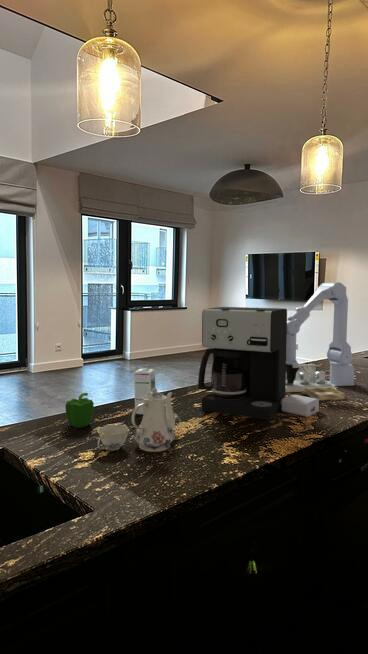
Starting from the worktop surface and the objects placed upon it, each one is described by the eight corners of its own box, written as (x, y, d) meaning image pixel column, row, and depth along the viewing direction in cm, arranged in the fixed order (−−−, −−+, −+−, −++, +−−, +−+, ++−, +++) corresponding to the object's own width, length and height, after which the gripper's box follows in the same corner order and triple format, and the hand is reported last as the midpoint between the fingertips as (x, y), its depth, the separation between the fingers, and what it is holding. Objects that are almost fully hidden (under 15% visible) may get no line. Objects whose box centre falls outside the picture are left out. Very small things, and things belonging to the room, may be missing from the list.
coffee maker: (190, 409, 156) (190, 308, 153) (213, 396, 173) (213, 305, 170) (268, 420, 143) (271, 310, 140) (285, 405, 160) (287, 307, 157)
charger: (279, 403, 163) (318, 411, 153) (265, 409, 156) (306, 417, 146) (279, 391, 162) (319, 398, 153) (266, 395, 155) (306, 403, 146)
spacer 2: (306, 382, 189) (306, 371, 189) (311, 384, 185) (311, 373, 184) (296, 382, 188) (296, 371, 188) (301, 384, 184) (301, 374, 184)
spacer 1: (290, 382, 188) (291, 371, 187) (295, 384, 184) (295, 373, 183) (280, 382, 187) (281, 372, 187) (285, 385, 183) (285, 374, 182)
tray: (330, 392, 180) (330, 387, 180) (345, 399, 169) (345, 393, 169) (304, 393, 178) (304, 388, 178) (317, 400, 167) (317, 395, 167)
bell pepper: (66, 431, 133) (65, 397, 132) (65, 422, 141) (64, 391, 140) (95, 428, 135) (94, 396, 134) (93, 420, 143) (92, 389, 142)
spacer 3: (322, 381, 190) (322, 371, 190) (327, 383, 186) (327, 373, 186) (312, 381, 190) (312, 371, 189) (317, 384, 185) (317, 373, 185)
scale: (319, 383, 196) (320, 363, 196) (334, 390, 184) (335, 369, 183) (271, 385, 192) (272, 365, 192) (283, 392, 180) (284, 371, 179)
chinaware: (160, 430, 139) (156, 376, 138) (204, 436, 128) (199, 378, 128) (88, 457, 117) (82, 394, 117) (133, 467, 107) (127, 398, 106)
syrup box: (151, 415, 149) (151, 371, 148) (134, 414, 150) (133, 371, 149) (155, 410, 155) (155, 368, 153) (139, 409, 156) (139, 367, 154)
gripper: (272, 347, 190) (272, 378, 192) (286, 352, 176) (286, 386, 177) (288, 346, 192) (287, 378, 193) (303, 351, 177) (302, 385, 179)
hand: (288, 382), depth 185 cm, fingers closed on spacer 1, 4 cm apart
